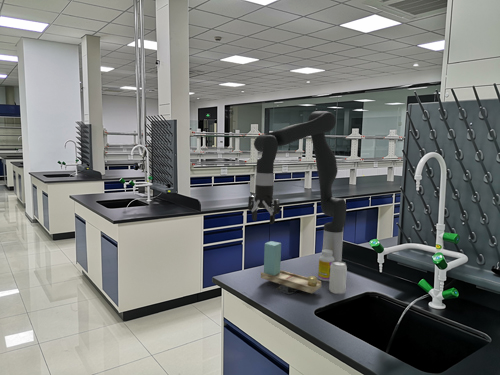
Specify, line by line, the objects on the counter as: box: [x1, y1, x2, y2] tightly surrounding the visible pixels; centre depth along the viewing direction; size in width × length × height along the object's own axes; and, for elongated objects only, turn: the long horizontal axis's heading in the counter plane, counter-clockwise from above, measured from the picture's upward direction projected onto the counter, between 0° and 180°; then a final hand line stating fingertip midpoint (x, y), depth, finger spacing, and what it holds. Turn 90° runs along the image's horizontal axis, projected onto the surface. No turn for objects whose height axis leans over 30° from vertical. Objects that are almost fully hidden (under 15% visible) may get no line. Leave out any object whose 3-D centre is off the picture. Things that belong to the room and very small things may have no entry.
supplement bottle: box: [317, 249, 335, 282], centre depth 159 cm, size 7×7×13 cm
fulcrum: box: [275, 284, 299, 296], centre depth 149 cm, size 7×11×2 cm, turn 143°
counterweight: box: [307, 275, 318, 287], centre depth 142 cm, size 4×4×3 cm
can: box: [328, 260, 348, 295], centre depth 146 cm, size 6×6×12 cm
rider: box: [263, 240, 282, 276], centre depth 153 cm, size 5×5×13 cm
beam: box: [260, 269, 322, 294], centre depth 149 cm, size 24×8×2 cm, turn 53°
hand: (263, 222), depth 151 cm, fingers open, 8 cm apart
